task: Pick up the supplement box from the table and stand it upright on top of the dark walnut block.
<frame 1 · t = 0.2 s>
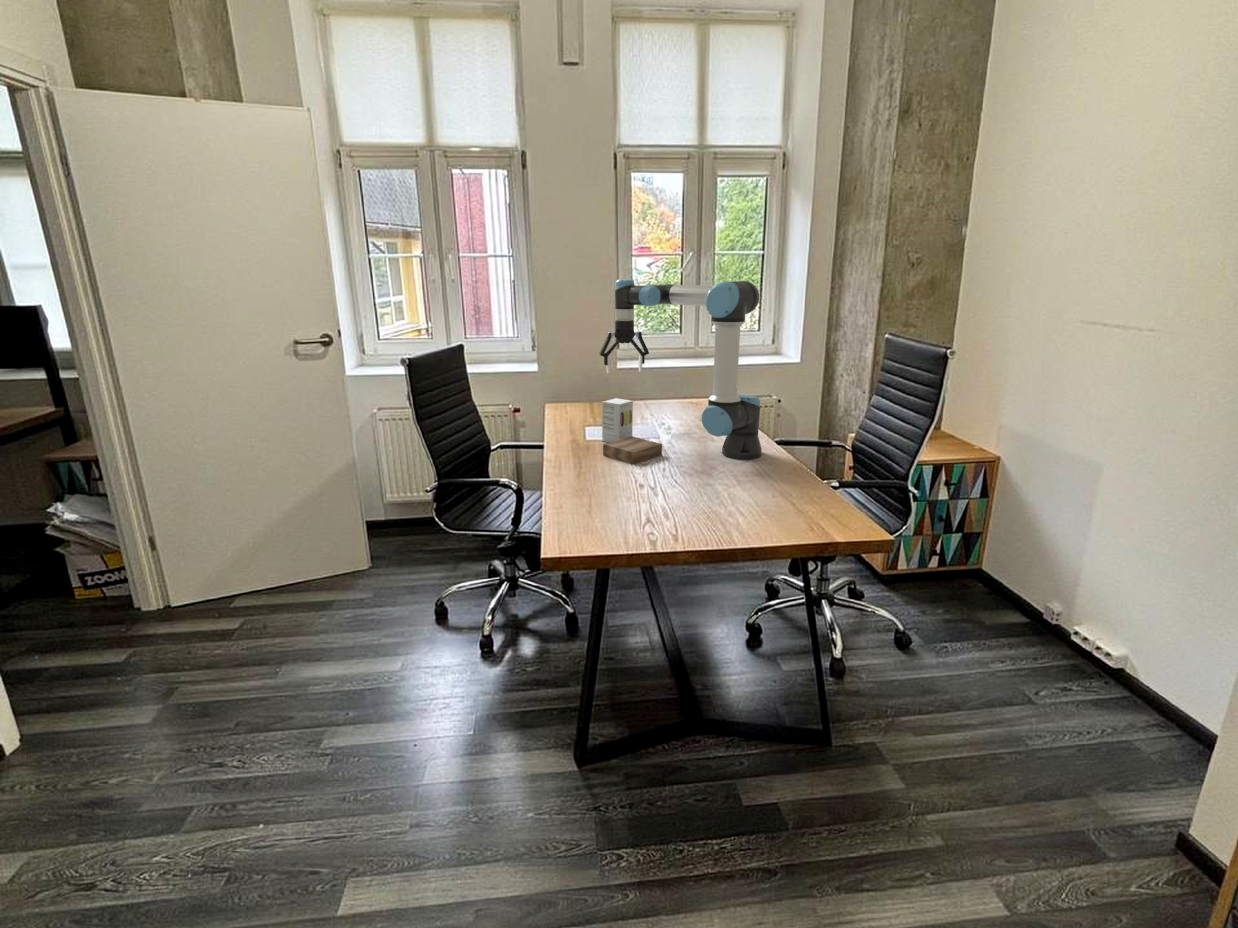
hand: (624, 372, 264), 28 cm above the table, tool pointing down, fingers open, 13 cm apart
supplement box: (617, 441, 268), on the table
walnut block: (632, 456, 248), on the table
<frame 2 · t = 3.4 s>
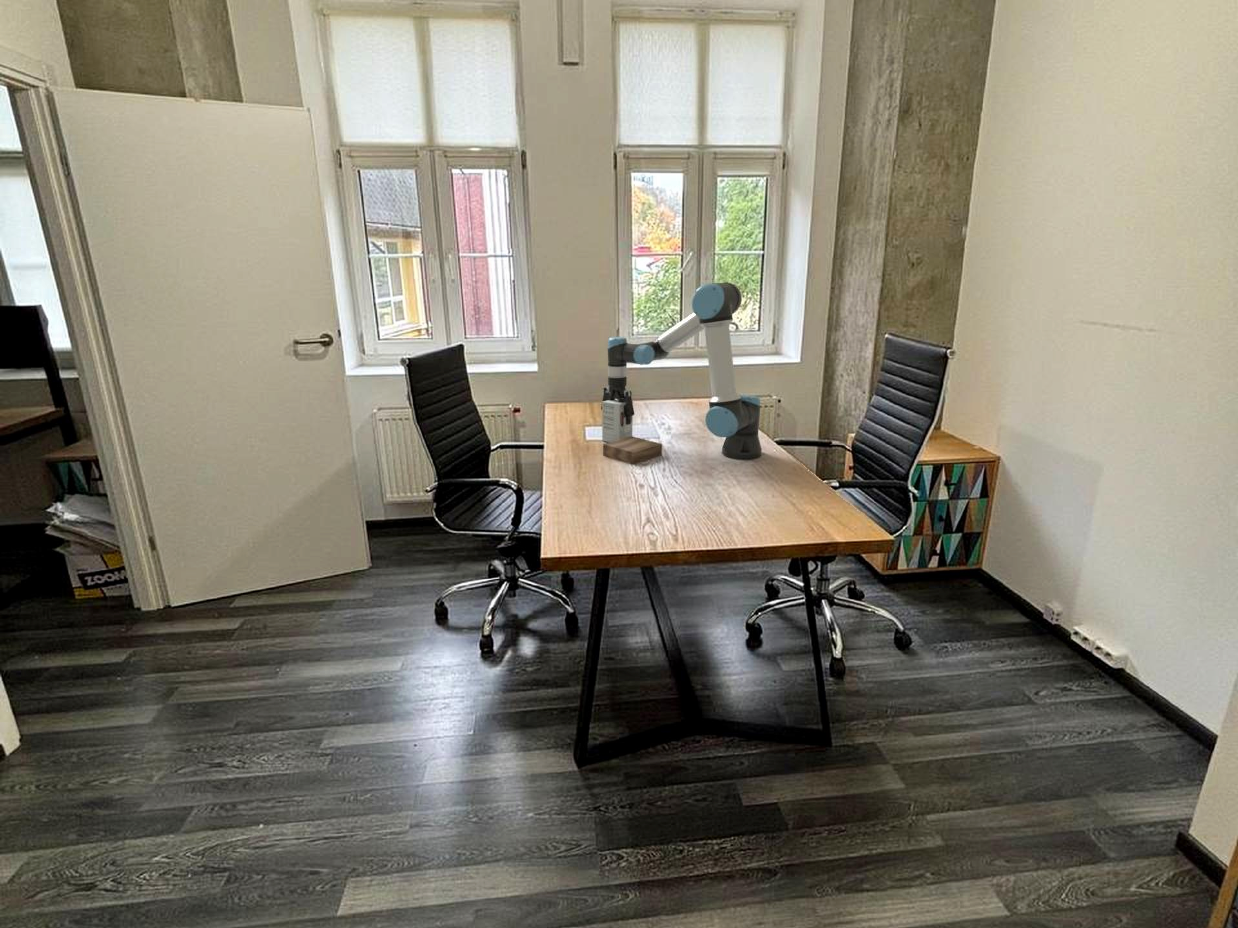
hand: (617, 429, 267), 5 cm above the table, tool pointing down, fingers closed on supplement box, 10 cm apart
supplement box: (617, 441, 268), on the table, touching gripper
everything else where it was.
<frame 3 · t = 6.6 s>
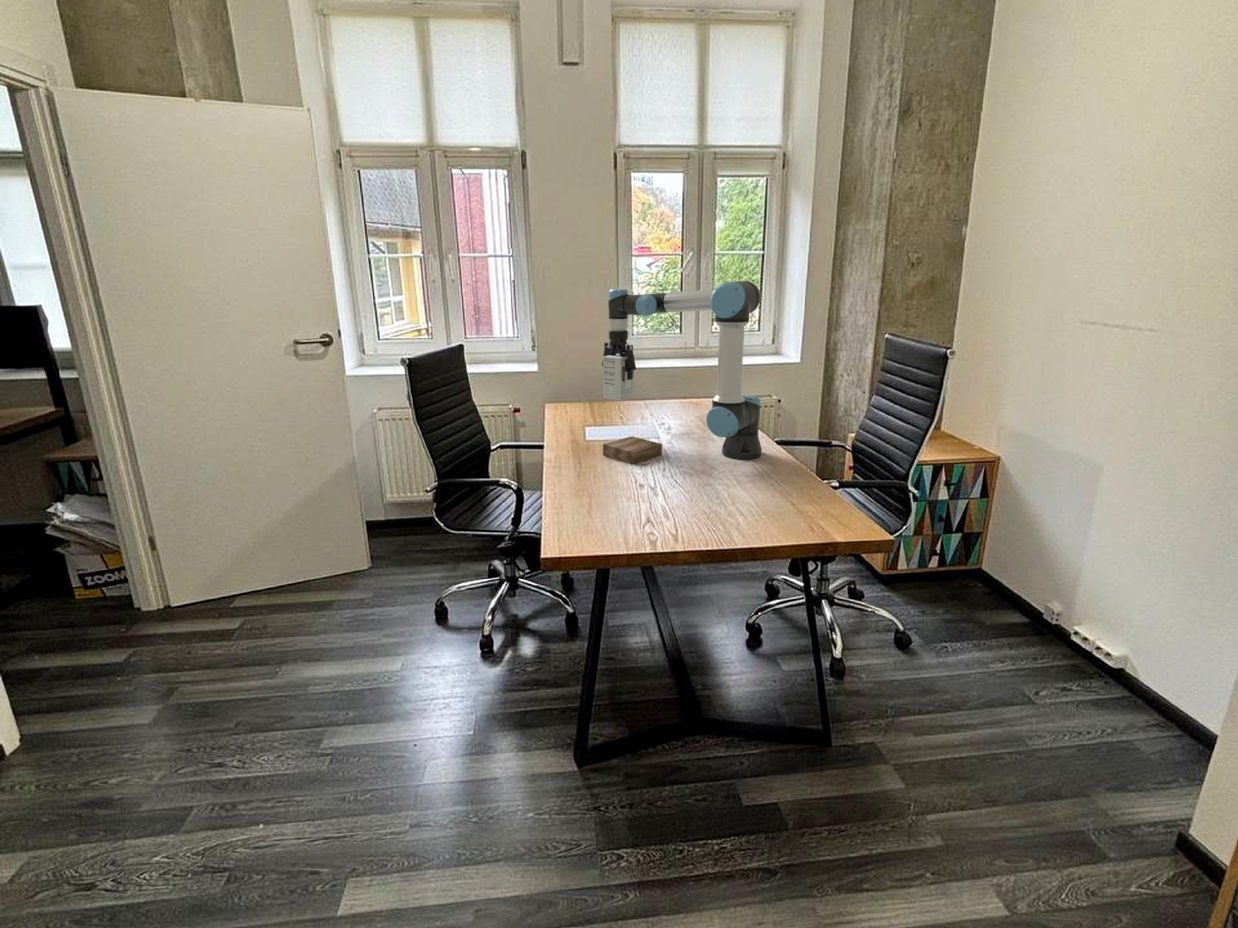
hand: (618, 386, 260), 23 cm above the table, tool pointing down, fingers closed on supplement box, 10 cm apart
supplement box: (618, 397, 261), point 18 cm above the table, touching gripper
everything else where it was.
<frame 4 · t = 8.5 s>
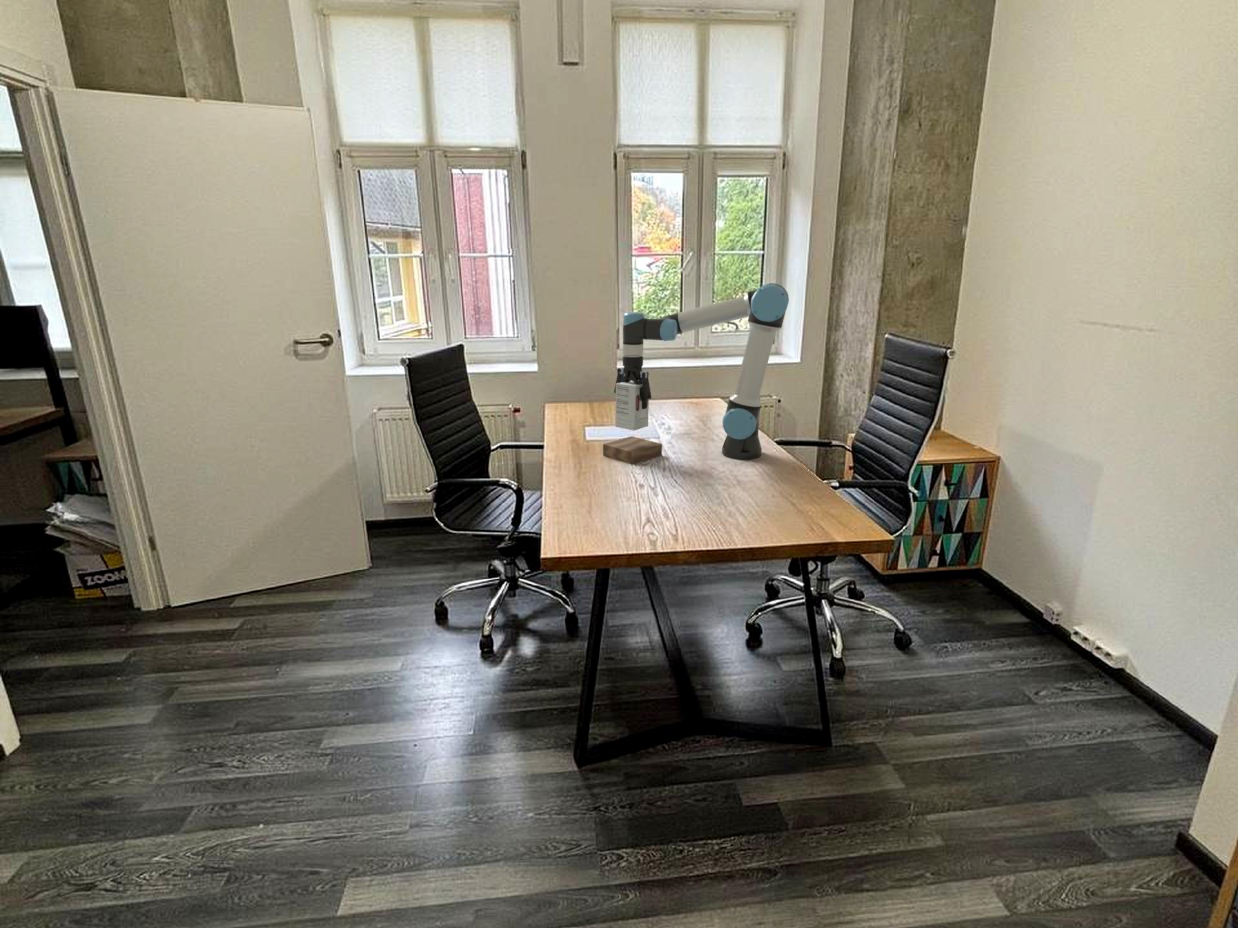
hand: (632, 414, 243), 16 cm above the table, tool pointing down, fingers closed on supplement box, 10 cm apart
supplement box: (631, 427, 245), point 11 cm above the table, touching gripper
everything else where it was.
when the fingers open (11 cm above the table, at t = 9.8 s): supplement box drops 2 cm, point 4 cm above the table.
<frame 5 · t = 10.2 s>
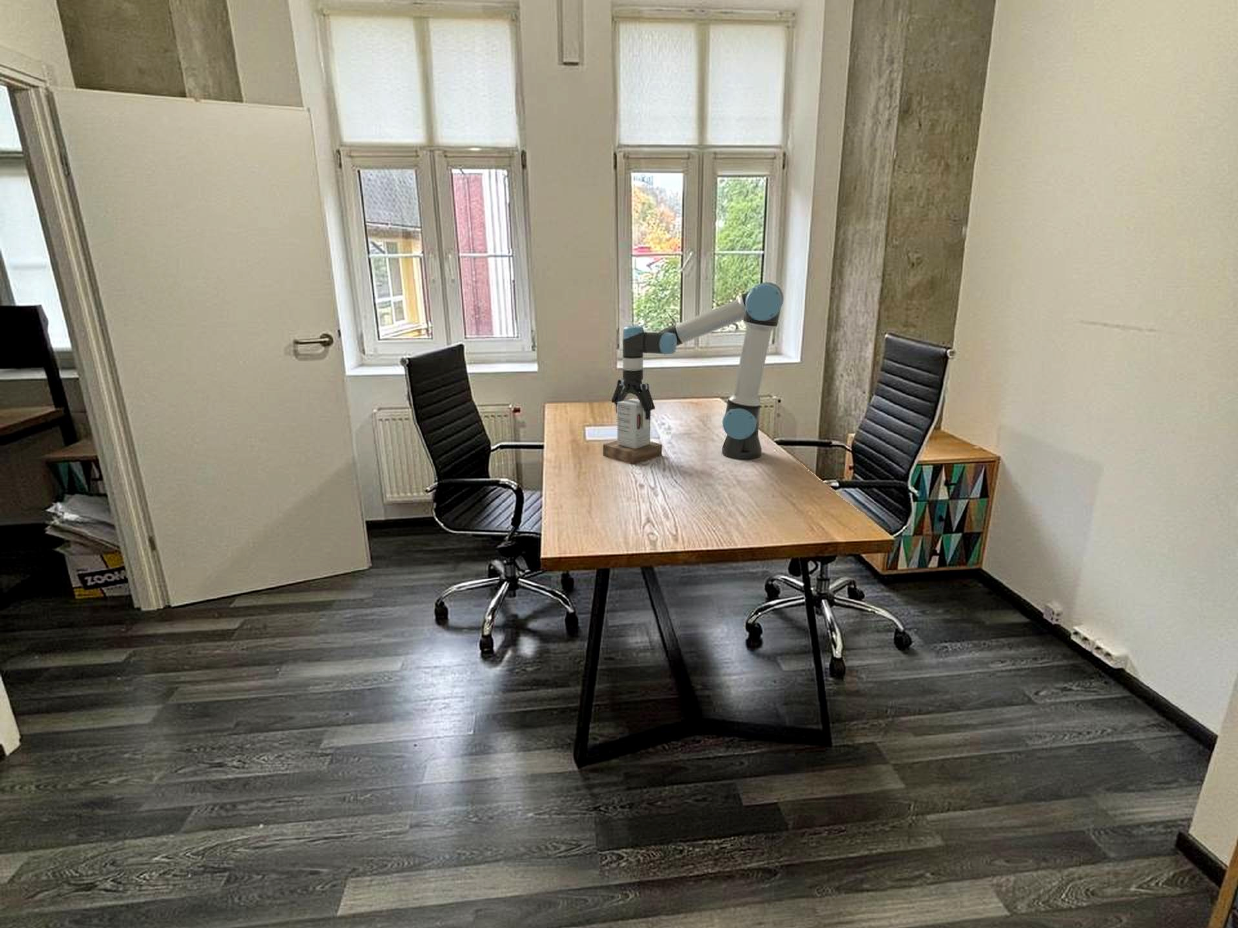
hand: (632, 424, 244), 12 cm above the table, tool pointing down, fingers open, 13 cm apart
supplement box: (633, 445, 246), point 4 cm above the table
everything else where it was.
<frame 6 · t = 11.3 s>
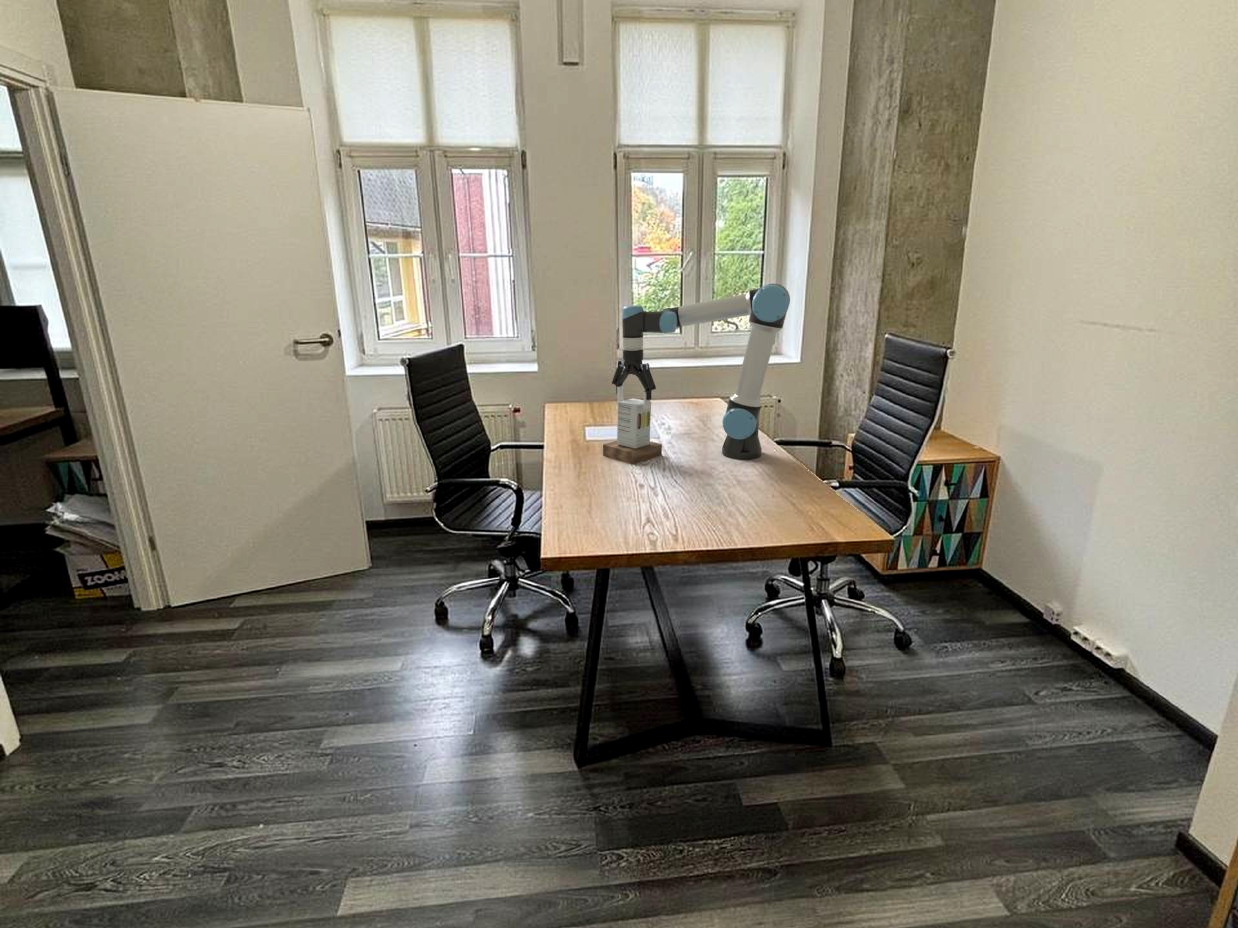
hand: (633, 405, 242), 19 cm above the table, tool pointing down, fingers open, 13 cm apart
supplement box: (633, 445, 246), point 4 cm above the table, touching walnut block
walnut block: (632, 456, 248), on the table, touching supplement box
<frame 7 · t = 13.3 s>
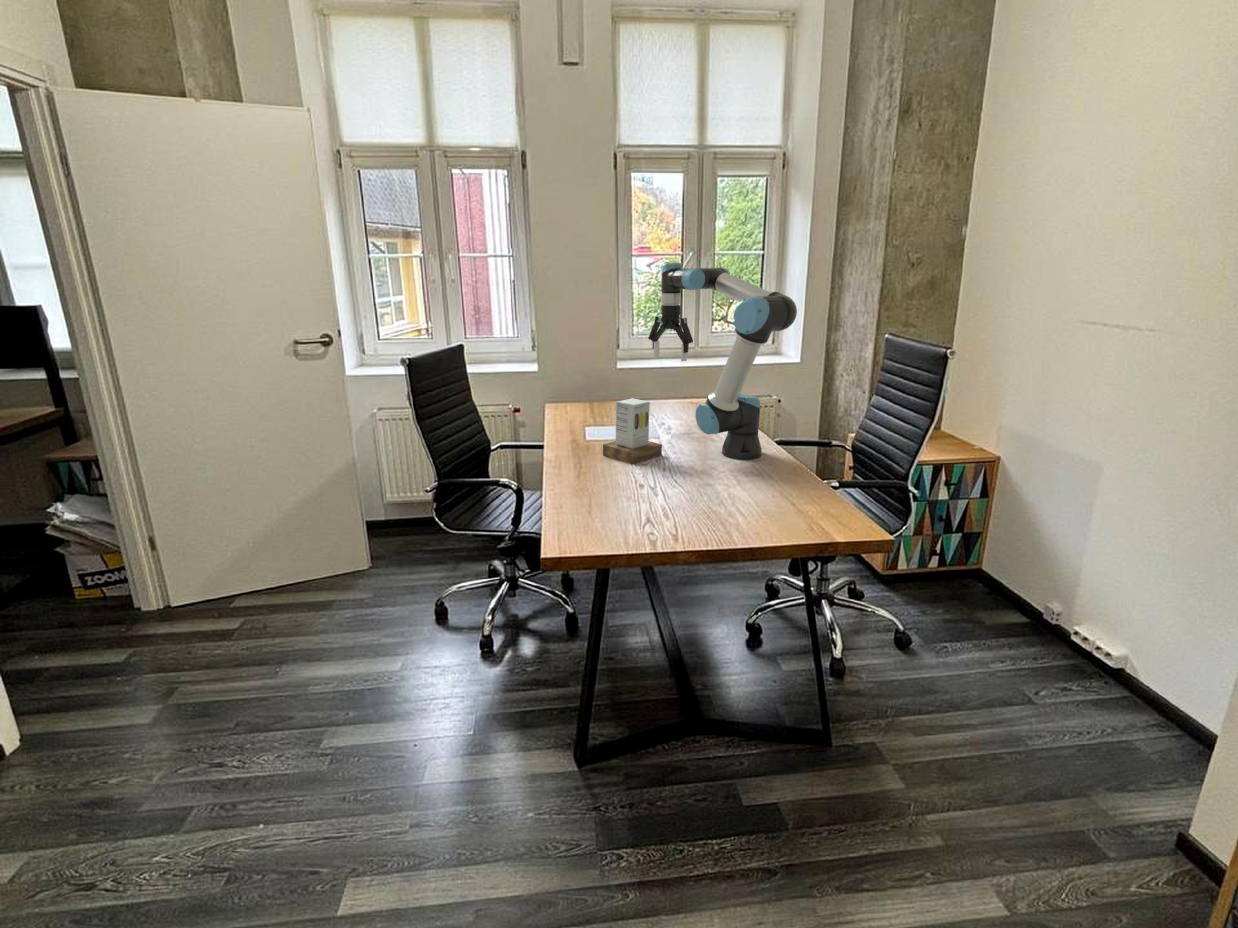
hand: (669, 359, 256), 34 cm above the table, tool pointing down, fingers open, 13 cm apart
supplement box: (632, 444, 247), point 4 cm above the table
walnut block: (632, 456, 248), on the table
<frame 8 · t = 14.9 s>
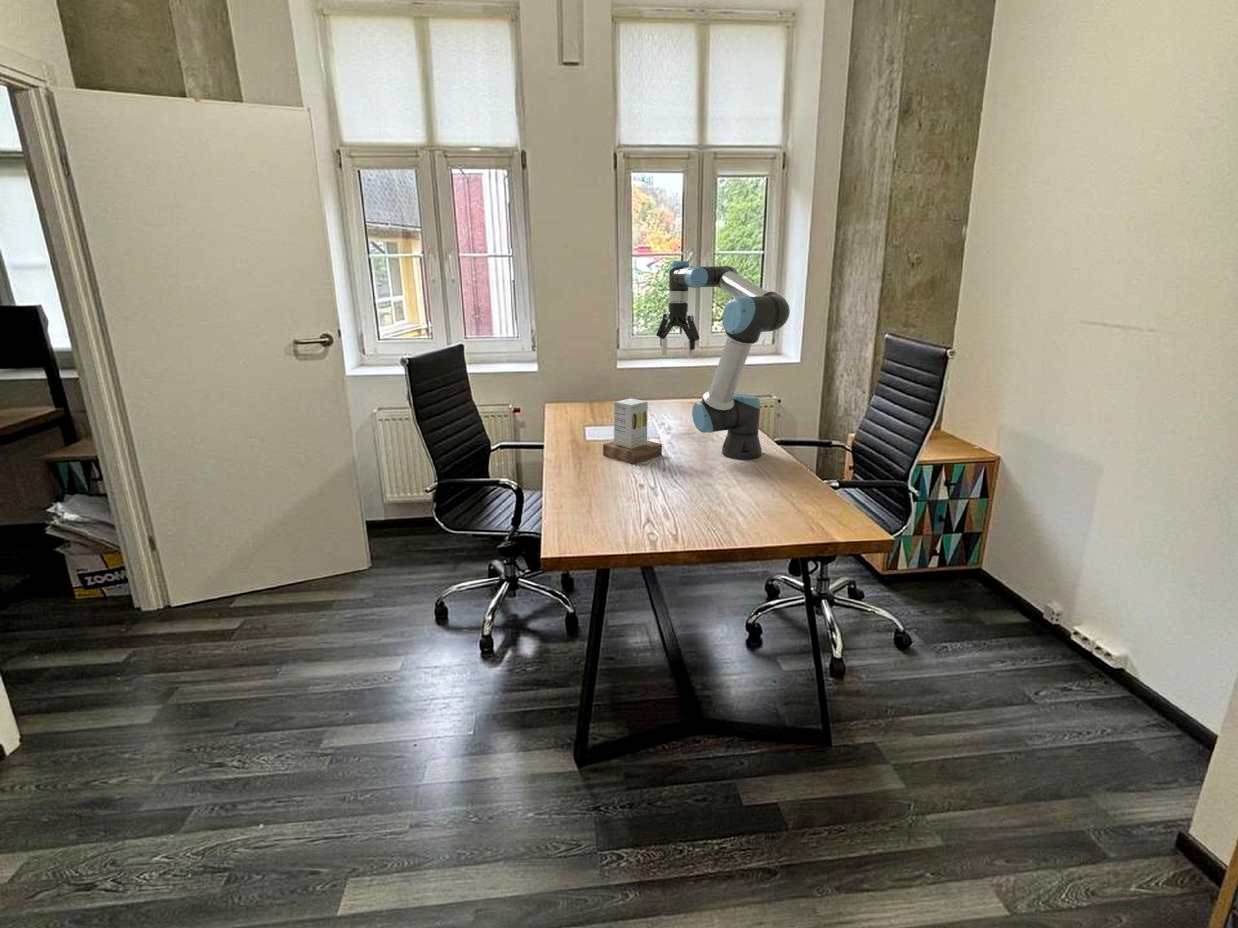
hand: (676, 356, 259), 35 cm above the table, tool pointing down, fingers open, 13 cm apart
supplement box: (630, 445, 246), point 4 cm above the table, touching walnut block
walnut block: (632, 456, 248), on the table, touching supplement box
at the end: supplement box inside the target area on the walnut block (1.0 cm from its centre), point 4.9 cm above the walnut block's base; supplement box tilted 1°; the gripper is holding nothing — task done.
